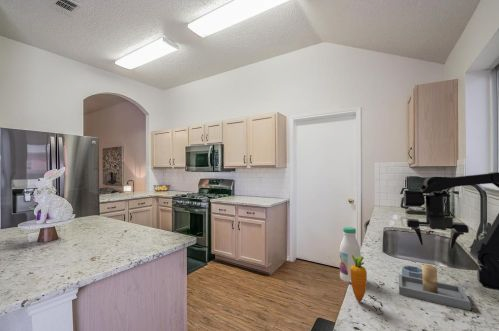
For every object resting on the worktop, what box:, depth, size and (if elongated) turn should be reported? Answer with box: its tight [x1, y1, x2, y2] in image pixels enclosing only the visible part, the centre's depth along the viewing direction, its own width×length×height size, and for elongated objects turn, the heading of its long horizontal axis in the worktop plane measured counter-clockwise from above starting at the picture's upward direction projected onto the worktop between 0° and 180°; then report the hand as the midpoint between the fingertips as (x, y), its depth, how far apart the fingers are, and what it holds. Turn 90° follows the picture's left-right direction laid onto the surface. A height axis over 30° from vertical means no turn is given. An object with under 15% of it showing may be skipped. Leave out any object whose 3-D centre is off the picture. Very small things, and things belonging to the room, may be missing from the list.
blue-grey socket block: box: [401, 264, 423, 279], centre depth 92 cm, size 8×8×3 cm
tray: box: [398, 273, 472, 311], centre depth 78 cm, size 18×12×2 cm, turn 57°
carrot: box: [350, 255, 368, 303], centre depth 74 cm, size 5×5×15 cm
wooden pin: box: [421, 264, 438, 294], centre depth 79 cm, size 4×4×8 cm
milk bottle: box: [339, 226, 362, 284], centre depth 90 cm, size 8×8×20 cm
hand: (436, 246), depth 91 cm, fingers open, 9 cm apart
